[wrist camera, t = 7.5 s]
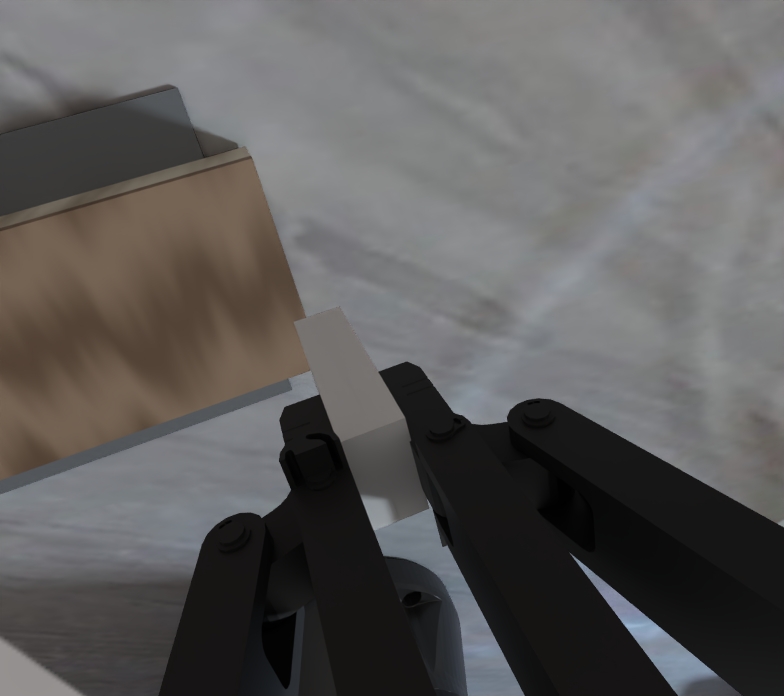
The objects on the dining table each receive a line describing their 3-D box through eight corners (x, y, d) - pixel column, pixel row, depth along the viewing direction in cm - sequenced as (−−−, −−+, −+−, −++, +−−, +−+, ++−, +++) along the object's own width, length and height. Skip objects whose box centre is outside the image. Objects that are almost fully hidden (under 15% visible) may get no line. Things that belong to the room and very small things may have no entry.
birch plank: (322, 366, 28) (-22, 488, 25) (308, 333, 31) (5, 437, 29) (252, 158, 23) (-184, 284, 20) (245, 146, 26) (-129, 253, 24)
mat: (291, 388, 32) (292, 389, 32) (0, 492, 30) (-2, 494, 30) (177, 87, 24) (177, 87, 24) (-231, 195, 22) (-234, 196, 22)
